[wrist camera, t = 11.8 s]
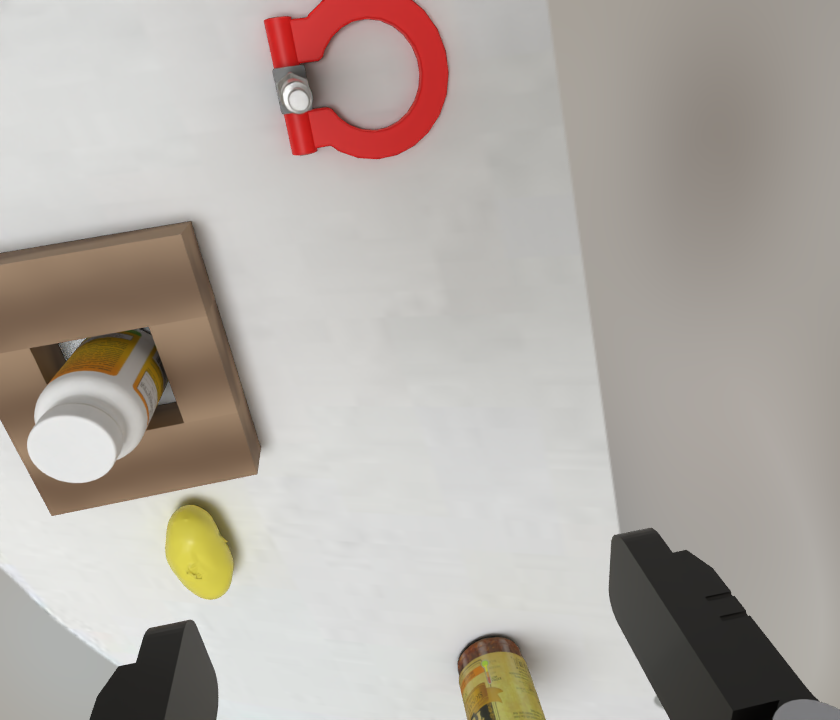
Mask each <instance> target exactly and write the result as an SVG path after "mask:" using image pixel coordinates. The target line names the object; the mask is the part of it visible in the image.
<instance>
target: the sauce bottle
mask: <svg viewBox="0 0 840 720" xmlns="http://www.w3.org/2000/svg"><path fill="white" fill-rule="evenodd" d="M458 672H459V685H460V689H461V693H462V698H463V702H464V707H465V711H466V716H467V720H546V719H545V716H544V713H543V710H542V707H541V704H540V702H539V699H538V696H537V693H536V690H535V687H534V684H533V681H532V678H531V675H530V673H529V670H528V667H527V664H526V662H525V660H524V659H523V658H522V655H521V652H520V649H519V648H518V647H517V645H516V644H515V643H514V642H513V641H511V640H509V639H507V638H504V637H493V638H492V637H490V638H484V639H481V640H479V641H477V642H475V643H473V644H472V645H470V646H469V647H468V648H467V649H466V650H465V651H464V652H463V653H462V655H461V656H460V657H459V661H458Z"/></svg>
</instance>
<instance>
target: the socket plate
mask: <svg viewBox="0 0 840 720" xmlns="http://www.w3.org/2000/svg"><path fill="white" fill-rule="evenodd" d="M144 327H149V329H150V331H151V334H152V337H153V340H154V342H155V345H156V348H157V350H158V353H159V356H160V358H161V361H162V364H163V367H164V369H165V372H166V375H167V377H168V380H169V383H170V386H171V388H172V391H173V394H174V396H175V399H176V402H175V403H169V404H164V405H159V406H157V407H156V409H155V411H154V413H153V416H152V418H151V420H150V422H149V424H148V427H147V429H146V431H145V433H144V435H143V437H142V439H141V441H140V442H139V444H138V445H137V446H136V447H135V448H134V450H132V451H131V452H130V453H129V454H127V455H126V456H124V457H122V458H120V459H118V460H116V462H115V463H114V465H113V467H112V468H111V469H110V470H109V472H108V473H106V474H105V475H104V476H102V477H100V478H98V479H96V480H93V481H90V482H85V483H69V482H64V481H59V480H57V479H54V478H52V477H50V476H48V475H46V474H45V473H43V472H42V471H41V470H40V469H38V468H37V466H36V465H35V464H34V463H33V462H32V460H31V458H30V456H29V453H28V450H27V440H28V436H29V434H30V432H31V430H32V429H33V427H34V426H35V419H34V412H35V406H36V403H37V400H38V398H39V396H40V394H41V393H42V391H43V390H44V388H45V387H46V386H47V385H48V383H49V382H50V381H51V379H52V378H53V377H54V376H55V375H56V373H57V372H58V371H59V370H60V369H61V367H62V366H63V365H64V364H65V363H66V361H65V359H64V357H63V355H62V352H61V350H60V348H59V346H58V344H57V343H61V342H67V341H72V340H78V339H83V338H89V337H94V336H100V335H105V334H111V333H116V332H122V331H127V330H133V329H138V328H144ZM0 420H1V422H2V424H3V425H4V427H5V429H6V431H7V433H8V435H9V437H10V439H11V440H12V442H13V444H14V446H15V448H16V450H17V452H18V454H19V455H20V457H21V459H22V461H23V463H24V465H25V467H26V469H27V470H28V472H29V474H30V476H31V478H32V480H33V482H34V484H35V485H36V487H37V489H38V491H39V493H40V495H41V497H42V499H43V500H44V502H45V504H46V506H47V508H48V510H49V512H50V514H51V515H52V516H54V515H59V514H64V513H69V512H74V511H79V510H84V509H89V508H94V507H99V506H103V505H108V504H113V503H118V502H123V501H128V500H133V499H138V498H143V497H148V496H153V495H157V494H162V493H167V492H172V491H177V490H182V489H187V488H192V487H197V486H202V485H207V484H212V483H216V482H221V481H226V480H231V479H236V478H241V477H246V476H251V475H256V474H257V473H258V466H259V458H260V451H261V447H260V444H259V441H258V437H257V434H256V431H255V428H254V424H253V421H252V418H251V415H250V411H249V408H248V405H247V402H246V398H245V395H244V392H243V389H242V385H241V382H240V379H239V376H238V372H237V369H236V366H235V363H234V359H233V356H232V353H231V350H230V346H229V343H228V340H227V337H226V333H225V330H224V327H223V324H222V320H221V317H220V314H219V311H218V307H217V304H216V301H215V298H214V294H213V291H212V288H211V285H210V281H209V278H208V275H207V272H206V268H205V265H204V262H203V259H202V255H201V252H200V249H199V246H198V242H197V239H196V236H195V233H194V229H193V226H192V223H191V221H189V222H183V223H177V224H171V225H165V226H159V227H153V228H147V229H142V230H136V231H130V232H124V233H118V234H112V235H106V236H100V237H94V238H88V239H82V240H76V241H70V242H64V243H58V244H52V245H46V246H40V247H34V248H28V249H22V250H16V251H10V252H5V253H0Z"/></svg>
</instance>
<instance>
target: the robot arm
mask: <svg viewBox="0 0 840 720" xmlns="http://www.w3.org/2000/svg"><path fill="white" fill-rule="evenodd" d="M609 597H610V602H611V606H612V610H613V613H614V615H615V618H616V620H617V622H618V624H619V626H620V628H621V630H622V632H623V634H624V635H625V637H626V639H627V641H628V643H629V645H630V647H631V648H632V650H633V652H634V654H635V656H636V658H637V659H638V661H639V663H640V665H641V667H642V669H643V670H644V672H645V674H646V676H647V678H648V680H649V682H650V683H651V685H652V687H653V689H654V691H655V693H656V694H657V696H658V698H659V700H660V702H661V704H662V706H663V707H664V709H665V711H666V713H667V715H668V717H669V718H670V720H840V710H839V709H837V708H836V707H833V706H831V705H828V704H826V703H823V702H820V701H818V699H816V698H815V697H814V696H813V695H812V693H811V692H810V691H809V690H808V689H807V688H806V686H805V685H804V684H803V683H802V681H801V680H800V679H799V678H798V676H797V675H796V674H795V673H794V671H793V670H792V669H791V667H790V666H789V665H788V664H787V662H786V661H785V660H784V658H783V657H782V656H781V655H780V653H779V652H778V651H777V650H776V648H775V647H774V646H773V645H772V643H771V642H770V641H769V639H768V638H767V637H766V635H765V634H764V633H763V632H762V630H761V629H760V628H759V627H758V625H757V624H756V623H755V621H754V620H753V619H752V618H751V616H748V615H747V614H746V610H745V609H744V607H742V605H741V604H740V603H739V601H738V600H737V599H736V597H735V596H732V595H731V591H730V590H729V589H728V587H727V586H726V585H725V583H724V582H723V581H722V579H721V578H720V577H719V576H718V574H717V573H716V572H715V571H714V569H713V568H712V567H710V566H709V565H707V564H706V563H705V562H703V561H702V560H700V559H699V558H697V557H696V556H695V555H693V554H692V553H690V552H689V551H687V550H684V551H679V552H675V553H672V551H671V550H670V549H669V547H668V546H667V544H666V543H665V542H664V540H663V539H662V538H661V536H660V535H659V534H658V532H657V531H655V530H654V529H653V528H647V529H643V530H637V531H633V532H628V533H623V534H617V535H614V536H613V537H612V541H611V556H610V575H609ZM217 710H218V684H217V678H216V674H215V670H214V668H213V665H212V663H211V660H210V658H209V655H208V653H207V651H206V648H205V646H204V643H203V641H202V638H201V636H200V633H199V631H198V628H197V626H196V624H195V622H194V621H193V620H187V621H182V622H177V623H172V624H167V625H162V626H157V627H152V628H149V629H148V630H147V631H146V633H145V635H144V637H143V640H142V644H141V647H140V651H139V654H138V658H137V661H136V663H133V664H128V665H123V666H118V668H117V669H116V671H115V672H114V674H113V675H112V676H111V678H110V679H109V681H108V682H107V684H106V685H105V686H104V688H103V689H102V690H101V692H100V693H99V695H98V696H97V698H96V702H95V705H94V708H93V711H92V714H91V717H90V720H216V717H217Z"/></svg>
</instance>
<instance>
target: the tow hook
mask: <svg viewBox="0 0 840 720" xmlns="http://www.w3.org/2000/svg"><path fill="white" fill-rule="evenodd" d="M363 19H371V20H380V21H382V22H384V23H387V24H389V25H391V26H393V27H394V28H395V29H397V30H398V31H399V32H400V33H402V34H403V35H404V36H405V38H406V39H407V41H408V42H409V43H410V45H411V46H412V48H413V51H414V53H415V55H416V58H417V61H418V67H419V87H418V91H417V94H416V97H415V100H414V102H413V104H412V106H411V107H410V109H409V110H408V112H407V113H406V114H405V115H404V116H403V117H402V118H401V119H400V120H399V121H398V122H396V123H394V124H392V125H390V126H388V127H386V128H381V129H377V130H367V129H360V128H357V127H354V126H352V125H349V124H348V123H346V122H345V121H343V120H342V119H341V118H339V117H338V116H337V114H336V113H335V112H334V111H333V110H332V109H331V108H328V107H323V108H316V109H312V102H313V95H312V92H311V90H310V88H309V84H308V80H307V77H306V72H305V67H304V66H303V65H300V63H307V62H314V61H319V60H320V59H321V58H322V57H323V54H324V50H325V48H326V47H327V45H328V43H329V41H330V40H331V38H332V37H333V36H334V35H335V34H336V33H337V32H338V31H339V30H340V29H341V28H342V27H344V26H345V25H347V24H349V23H351V22H353V21H358V20H363ZM264 24H265V29H266V33H267V38H268V43H269V47H270V52H271V57H272V61H273V66H274V68H275V69H273V76H274V81H275V85H276V90H277V94H278V99H279V104H280V108H281V112H282V114H284V117H285V122H286V126H287V131H288V135H289V140H290V145H291V149H292V154H293V155H308V154H312V153H314V152H316V151H317V148H319V147H325V146H332V147H334V148H335V149H337V150H338V151H340V152H343V153H346V154H348V155H351V156H354V157H357V158H368V159H381V158H385V157H390V156H394V155H398V154H400V153H401V152H403V151H405V150H407V149H409V148H411V147H413V146H414V145H415V144H416V143H418V142H419V141H420V140H421V139H422V138H423V137H424V136H425V135H426V134H427V133H428V132H429V131H430V129H431V128H432V126H433V124H434V123H435V121H436V120H437V118H438V117H439V115H440V112H441V109H442V106H443V103H444V100H445V97H446V94H447V83H448V65H447V58H446V51H445V48H444V45H443V43H442V40H441V38H440V35H439V32H438V30H437V28H436V27H435V25H434V24H433V22H432V21H431V19H430V18H429V17H428V15H427V14H426V12H425V11H424V10H423V9H422V8H421V7H419V6H418V5H417V4H416V3H415V2H414V1H412V0H322V1H321V3H320V4H319V5H318V6H317V7H316V8H315V9H314V10H313V11H312V12H311V13H310V14H309V15H308V16H307V17H306V18H298V19H291V17H289V16H283V17H275V18H269V19H266V20H264Z"/></svg>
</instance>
